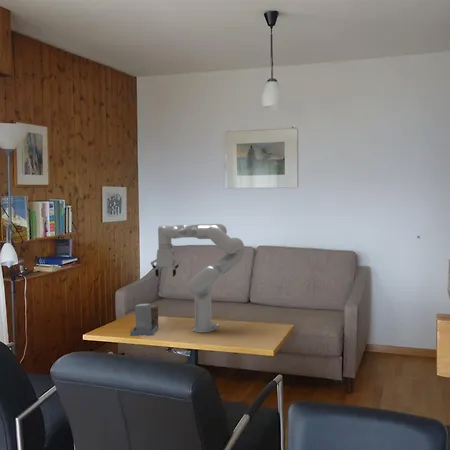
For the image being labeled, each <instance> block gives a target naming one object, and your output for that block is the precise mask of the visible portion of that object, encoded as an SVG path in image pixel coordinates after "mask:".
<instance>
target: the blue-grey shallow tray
mask: <svg viewBox="0 0 450 450" xmlns="http://www.w3.org/2000/svg"><path fill="white" fill-rule="evenodd" d="M158 327H159V325H158V326H152V331H136V325H135V326H133V328H132V329H131V330H130V336H133V337H134V336H135V337H136V336H137V337H138V336H139V335H142V336H143V335H146V336H147V337H148V336H151V335H153V336H154V335H155V334H156V333H157V332H158V329H159V328H158ZM155 332H156V333H155ZM146 336H145V337H146ZM139 337H140V336H139Z"/></svg>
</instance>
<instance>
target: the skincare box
mask: <svg viewBox="0 0 450 450" xmlns="http://www.w3.org/2000/svg"><path fill="white" fill-rule="evenodd" d="M151 306H152V304H151V303H139V304H136V305H135V306H134V308H135V310H134V311H135V326H136V331H152V318H151Z"/></svg>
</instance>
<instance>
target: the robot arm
mask: <svg viewBox="0 0 450 450" xmlns="http://www.w3.org/2000/svg"><path fill="white" fill-rule="evenodd" d="M227 232H228V229H227V228H226V226H225V225H224V224H221V223H197V224H176V225H159V226H158V228H157V237H158V239H157V240H158V249H157V251H156V259H154V260H152V261H151V262H150V265H151V267H152V268H153V269H154V271H155V273H154V274H155V276H156V278H158V277H159V275H160V274H159V273H160V271H159V268H164V267H166V268H167V267H171V268H172V277H175V276H176V275H177V269H178V268H179V266H180V265H181V261H179V260H178V259H176V258H175V252H174V249H173V248H175V245H174V244H172V239H174V240H176V239H177V240H178V239H183V238H195V239H198V240H210V241H211V242H212V243H214V245H215V246H217V248H218V249H220V250H221V251H222V252H223V253H225V254H224V255H223V256H222V257H221V258H220V259H218V260H217V261H216V262H215V263H212V264H209V265H207V266H205V267H204V268H202V270H200V271H199V272H198V273H197V274H196V275H194V276H193V277H192V278H191V279H190V280H189V282H188V285H187V286H188V287H187V288H188V290H189V292H190V293H192V294H194V326H193V328H192V332H194V333H210V332H214V331H215V329H216V328H220V325H221V324H220V323H213V320H212V319H213V317H212V291H213V284H214V283H216V282H217V281H220V280H221V279H222V278H224V276H225V275H226V274H227V275H228V273H229V272H230V271H232V269H234V268H235V267H236V266H237V265H238V264H239V263H241V260H242V259H243V257H244V254H245V245H244V242H243V240H241V238H239V237H230V236H229V235H228V233H227ZM155 263H156V265H155ZM175 263H176V265H175Z"/></svg>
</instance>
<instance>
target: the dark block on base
mask: <svg viewBox="0 0 450 450" xmlns="http://www.w3.org/2000/svg"><path fill="white" fill-rule="evenodd" d="M151 318H152V326H158V329H159V305H151Z"/></svg>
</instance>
